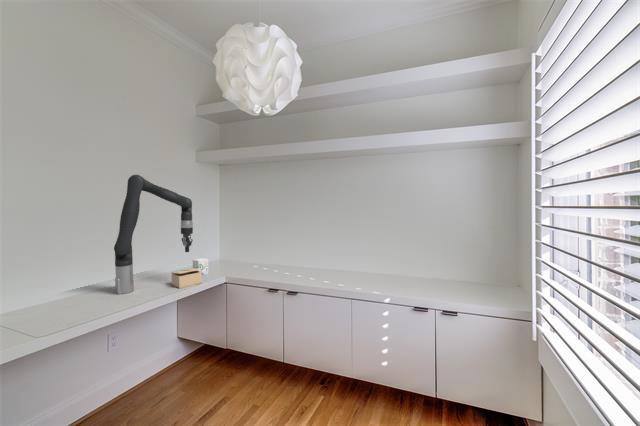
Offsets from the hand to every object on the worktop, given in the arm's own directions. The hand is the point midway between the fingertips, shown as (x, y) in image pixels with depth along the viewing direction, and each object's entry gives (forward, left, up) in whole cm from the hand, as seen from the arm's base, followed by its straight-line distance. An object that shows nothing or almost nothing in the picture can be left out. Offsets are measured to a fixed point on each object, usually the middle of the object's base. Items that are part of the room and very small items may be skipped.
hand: (187, 252), depth 201 cm
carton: (-1, 0, -22) cm, 22 cm away
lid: (-1, 0, -13) cm, 13 cm away
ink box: (+18, +20, -22) cm, 35 cm away
